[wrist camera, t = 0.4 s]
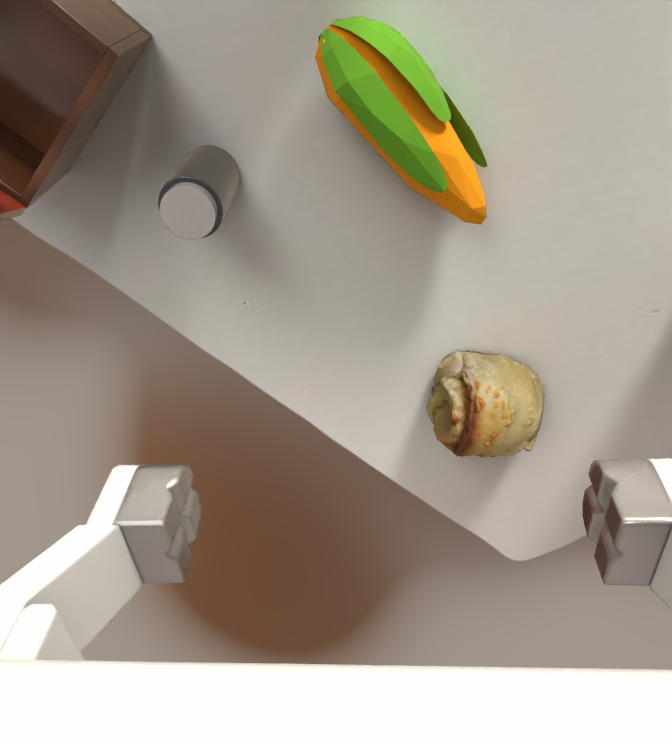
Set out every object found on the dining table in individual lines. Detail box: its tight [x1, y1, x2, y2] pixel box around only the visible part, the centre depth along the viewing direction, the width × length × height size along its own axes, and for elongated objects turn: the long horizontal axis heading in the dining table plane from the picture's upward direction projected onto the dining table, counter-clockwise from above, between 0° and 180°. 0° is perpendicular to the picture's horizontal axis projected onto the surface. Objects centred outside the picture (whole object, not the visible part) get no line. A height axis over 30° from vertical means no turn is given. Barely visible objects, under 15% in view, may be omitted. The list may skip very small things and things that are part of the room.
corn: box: [315, 17, 487, 224], centre depth 50 cm, size 7×8×20 cm
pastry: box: [427, 350, 544, 457], centre depth 67 cm, size 14×12×8 cm
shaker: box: [158, 145, 240, 240], centre depth 53 cm, size 5×5×9 cm
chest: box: [0, 0, 152, 208], centre depth 48 cm, size 15×14×8 cm
